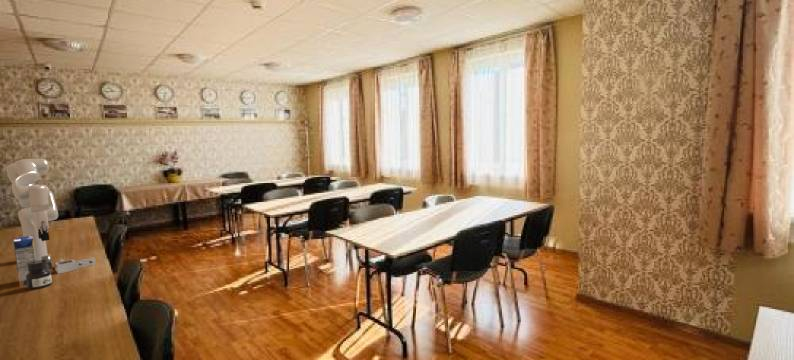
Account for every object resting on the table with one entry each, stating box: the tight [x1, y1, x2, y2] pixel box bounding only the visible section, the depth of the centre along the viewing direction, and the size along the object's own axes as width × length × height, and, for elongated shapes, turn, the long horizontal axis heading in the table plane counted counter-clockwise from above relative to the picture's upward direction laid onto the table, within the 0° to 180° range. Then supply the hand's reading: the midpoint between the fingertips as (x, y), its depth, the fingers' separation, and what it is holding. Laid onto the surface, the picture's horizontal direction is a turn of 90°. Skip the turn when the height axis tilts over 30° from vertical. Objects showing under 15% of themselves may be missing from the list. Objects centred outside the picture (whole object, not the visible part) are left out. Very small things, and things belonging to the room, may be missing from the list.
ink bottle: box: [26, 260, 53, 290], centre depth 189 cm, size 10×9×12 cm
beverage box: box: [13, 235, 36, 287], centre depth 196 cm, size 7×11×22 cm, turn 44°
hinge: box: [54, 256, 96, 275], centre depth 219 cm, size 17×17×4 cm
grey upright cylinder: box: [41, 254, 54, 270], centre depth 217 cm, size 4×4×7 cm
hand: (44, 239), depth 216 cm, fingers open, 9 cm apart
